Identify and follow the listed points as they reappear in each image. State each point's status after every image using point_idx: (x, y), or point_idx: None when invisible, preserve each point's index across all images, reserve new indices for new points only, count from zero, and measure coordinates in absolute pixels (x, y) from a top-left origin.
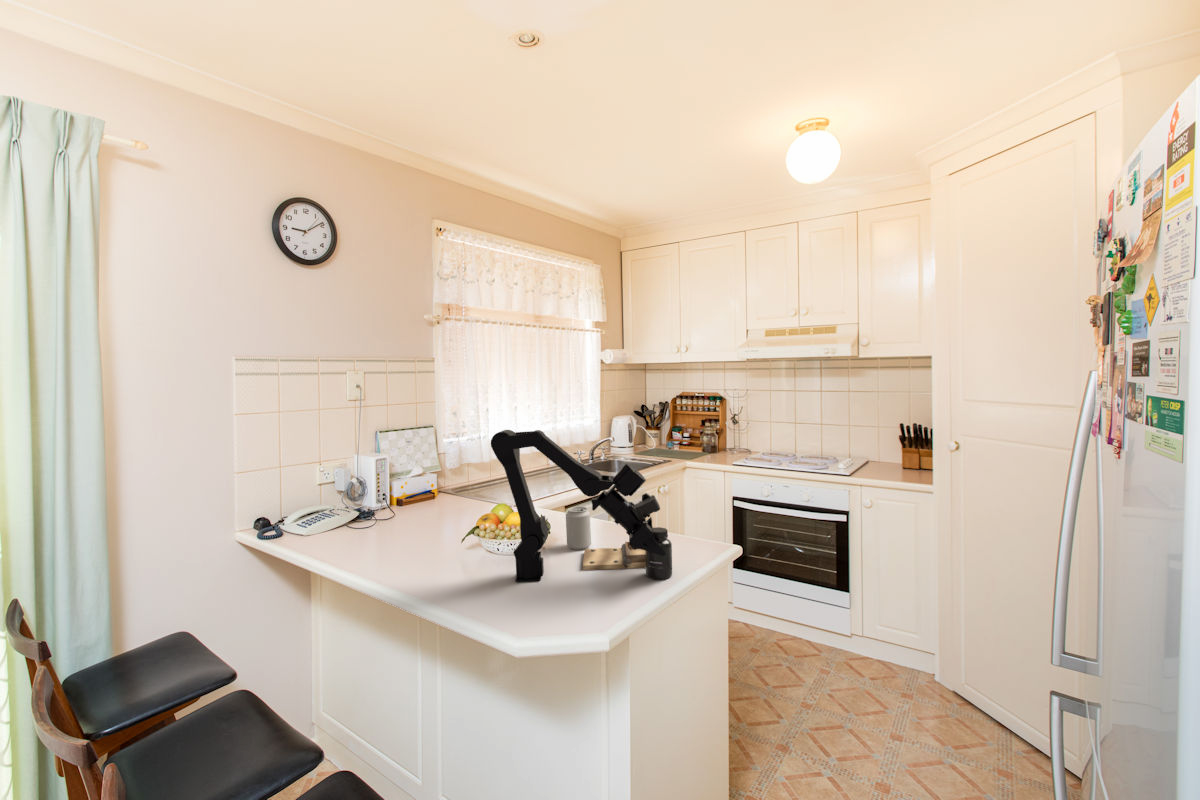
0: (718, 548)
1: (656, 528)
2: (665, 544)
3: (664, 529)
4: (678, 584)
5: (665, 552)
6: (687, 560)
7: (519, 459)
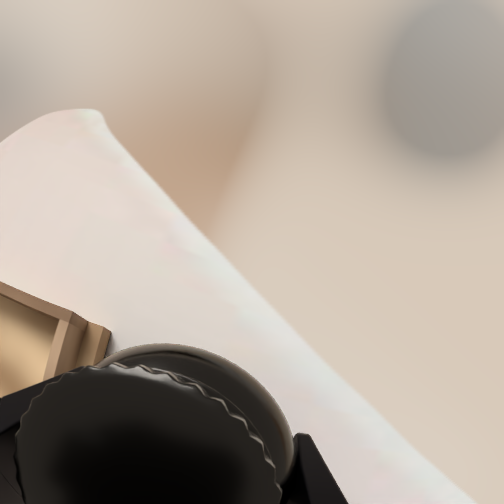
0: (57, 127)
1: (61, 488)
2: (282, 433)
3: (140, 410)
4: (326, 379)
5: (309, 437)
6: (78, 241)
7: None
